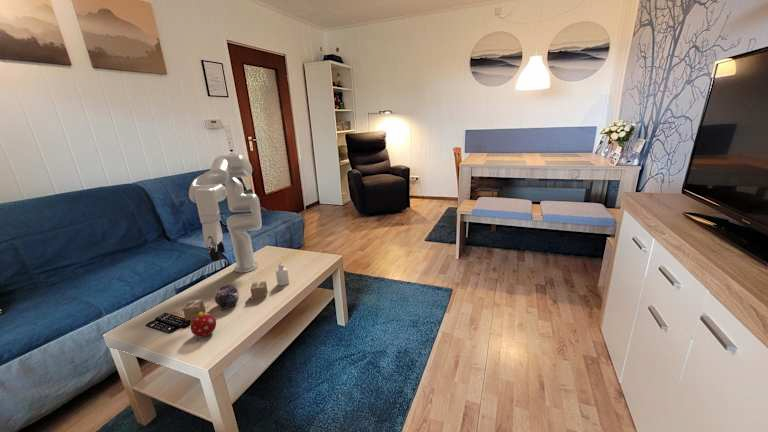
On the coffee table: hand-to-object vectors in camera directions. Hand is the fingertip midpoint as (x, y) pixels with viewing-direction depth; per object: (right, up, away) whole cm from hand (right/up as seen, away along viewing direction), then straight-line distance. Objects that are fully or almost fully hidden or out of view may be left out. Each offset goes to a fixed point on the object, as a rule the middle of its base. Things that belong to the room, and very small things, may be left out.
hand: (218, 256), depth 134 cm
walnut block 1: (+13, -21, +13) cm, 28 cm away
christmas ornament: (+2, -29, -13) cm, 32 cm away
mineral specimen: (+1, -23, +7) cm, 24 cm away
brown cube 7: (-9, -26, 0) cm, 27 cm away
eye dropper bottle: (+20, -17, +24) cm, 36 cm away
